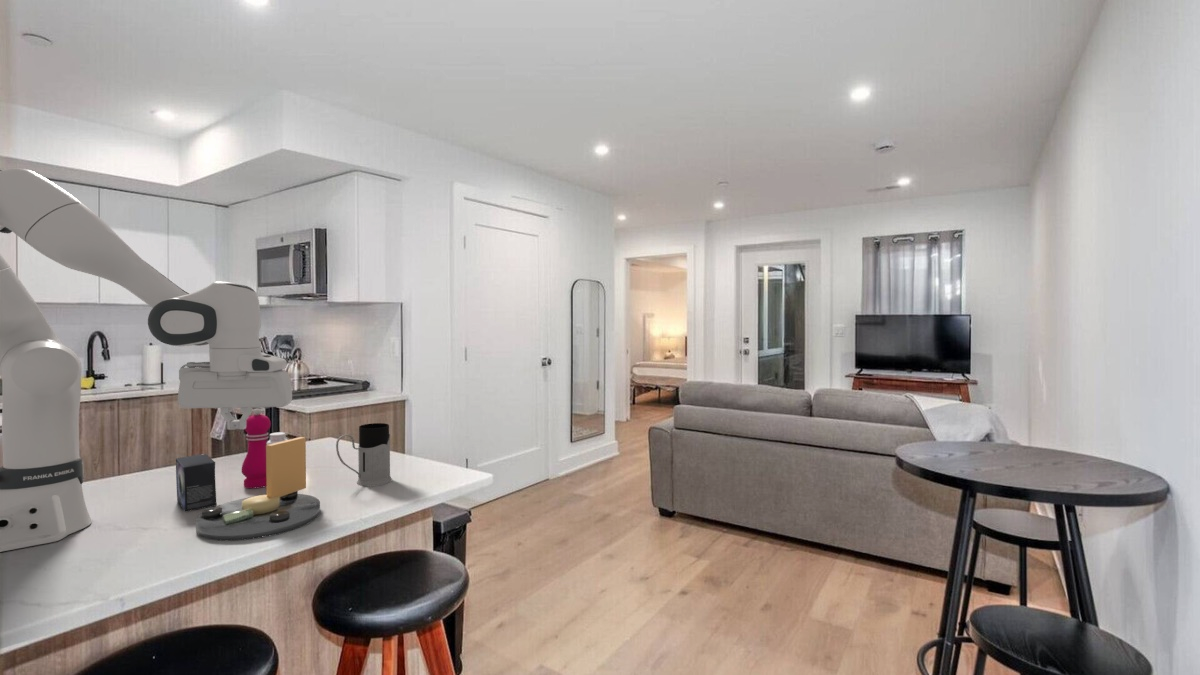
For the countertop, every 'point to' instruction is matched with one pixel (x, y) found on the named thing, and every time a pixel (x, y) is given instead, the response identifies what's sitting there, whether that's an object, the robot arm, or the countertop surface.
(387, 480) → the glass holder
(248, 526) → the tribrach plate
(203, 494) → the small box
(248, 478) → the pepper mill
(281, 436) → the supplement bottle
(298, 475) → the tan slab with dome
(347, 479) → the countertop surface
